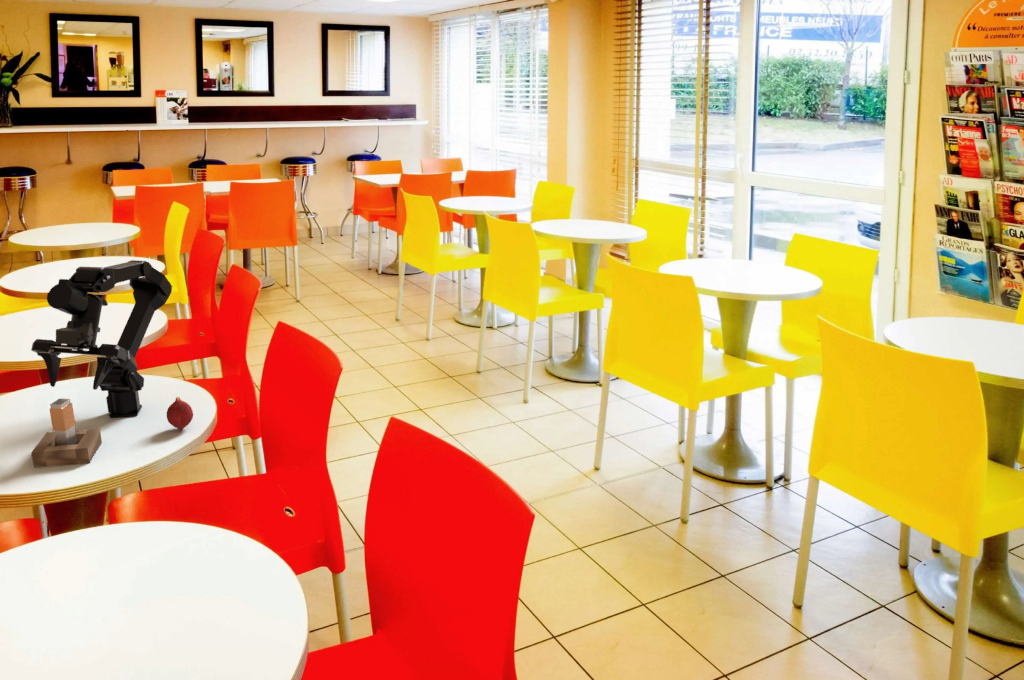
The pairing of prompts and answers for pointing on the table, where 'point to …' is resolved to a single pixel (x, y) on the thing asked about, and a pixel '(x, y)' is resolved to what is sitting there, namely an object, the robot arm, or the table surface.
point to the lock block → (67, 449)
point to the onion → (179, 414)
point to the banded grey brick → (63, 422)
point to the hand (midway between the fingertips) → (73, 388)
